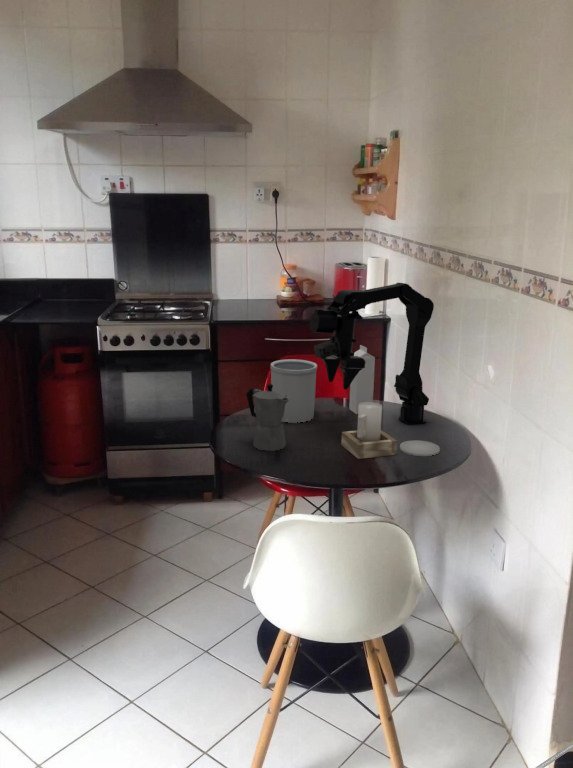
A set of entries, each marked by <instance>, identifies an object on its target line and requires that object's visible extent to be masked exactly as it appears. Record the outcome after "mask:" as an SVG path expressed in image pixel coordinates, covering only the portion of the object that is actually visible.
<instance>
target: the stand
mask: <svg viewBox="0 0 573 768" xmlns="http://www.w3.org/2000/svg"><path fill="white" fill-rule="evenodd" d="M340 446H341V447H343V448H344V449H346V450H347V451H348V452H349V453H350V454H352V455H353V456H354V457H355V458H356V459H357V460H360V459H368V458H370V459H371V458H378V457H385V456H386V457H387V456H395V455H397V448H398V447H397V446H398V440H396V439H395V438H393V437H392V436H390V435H389V434H388V433H386V432H385V431H383V430H382V429H381V437H380V441H371V442H360V441H359V440H358V439H357V429H356V430H346V431H341V445H340Z"/></svg>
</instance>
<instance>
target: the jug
mask: <svg viewBox="0 0 573 768" xmlns="http://www.w3.org/2000/svg"><path fill="white" fill-rule="evenodd" d="M382 413H383V405H382V404H381V403H379V402H374V401H373V402H363V403H360V404H359V408H358V414H357V429H356V430H357V439H358V440H359V441H360V442H371V441H380V437H381V430H382V416H383V415H382Z"/></svg>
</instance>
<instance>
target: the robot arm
mask: <svg viewBox="0 0 573 768" xmlns="http://www.w3.org/2000/svg"><path fill="white" fill-rule="evenodd" d="M394 299H398V300H399V301H400V303H401V304H403V305H404V306H405V316H406V319H407V322H408V330H407V331H408V332H407V340H406V347H405V355H404V363H403V370H402V371H401V372H400V374H396V375H395V383H394V385H393V387H394V388H395V393H396V394H397V395H398V398H399V400H400V401H402V402H401V406H400V413H399V414H400V415H399V417H398V419H399V420H400V421H401V422H403V423H405V424H406V425H418V424H426V423H427V421H426V420H425V419H424V415H425V406H428V403H429V400H430V398H429V397H428V396H427V395H426V394H425V393H424V391H423V380H422V376H421V373H420V368H421V360H422V355H423V354H422V353H423V345H424V337H425V332H426V331H425V329H426V326H427V325H428V323H429V322H430V320H431V319H432V316H433V312H434V310H435V309H434V307H435V306H434V302H433V300H432V299H430V298H429V297H425V296H424V295H423V294H421V293H420V292H418V291H417V290H415V289H414V288H413V287H412V286H410V284H409V283H404V282H396V283H393V284H388V285H383V286H379V287H374V288H369V289H363V290H362V289H341V290H339V291H337V294H336V295H335V298H334V299H333V300H332V302H331V303H330V304H329V306H328V307H327V308H326V309H321V308H314V312H313V313H312V315H311V317H310V319H309V328H310V329H309V330H310V331H311V333H314V334H315V333H317V334H332V333H333V335H330V337H329V340H327V341H324V342H322V343H319V344H315V345H314V346H313V348H314V355H315V357H316V358H319V359H320V360H321V361H322V362H323V363H324V364H325V368H326V373H327V374H326V375H327V379H328V382H329V383H333V381H334V379H335V376H336V374H337V372H338V369H339V367H340V369H341V371H342V372H343V373H342V375H343V377H342V378H343V379H342V381H343V382H342V383H343V384H342V389H343V390H348V389H349V388H350V384H351V383H352V381H353V379H354V378H355V376H356V375H357V374H358V373H359V371H360V370H362V368H365V362H366V361H365V360H364V359H363V358H361V357H358V356H354V353H355V352H353V346H354V345H353V343H357V339H356V338H354V334H355V329H356V328H355V326H356V320H363V319H364V318H363V316H362V315H361V314H360V313H359V310H361V309H364V308H365V307H366V306H368V305H371V304H375V303H380V302H384V301H388V300H390V301H391V300H394Z"/></svg>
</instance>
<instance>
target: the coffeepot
mask: <svg viewBox="0 0 573 768" xmlns="http://www.w3.org/2000/svg"><path fill="white" fill-rule="evenodd" d="M266 387H267V390H261V389H258V388H254V387H251V388H249V389H248V391H246V394H245V395H246V400H247V403H248V408H249V411H250V415H251V417H254V418H257V423H256V426H255V427H256V428H255V432H254V438H253V442H252V443H253V444H252V446H253V447H254V449H256V448H257V449H256V450H259V451H262V450H266V451H265V452H276V450H277V451H281V450H282V449H284V448H285V447H286V445H287V444H286V436H285V430H284V424H283V422H282V418H283V416H284V410H285V404H286V403H287V402H288V401H289V399H287V398H286V397H287V395H286V394H285V393H283V392H280V391H273V390H272V388H273V385H272V384H271V383H269V384H266ZM280 449H281V450H280Z"/></svg>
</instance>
